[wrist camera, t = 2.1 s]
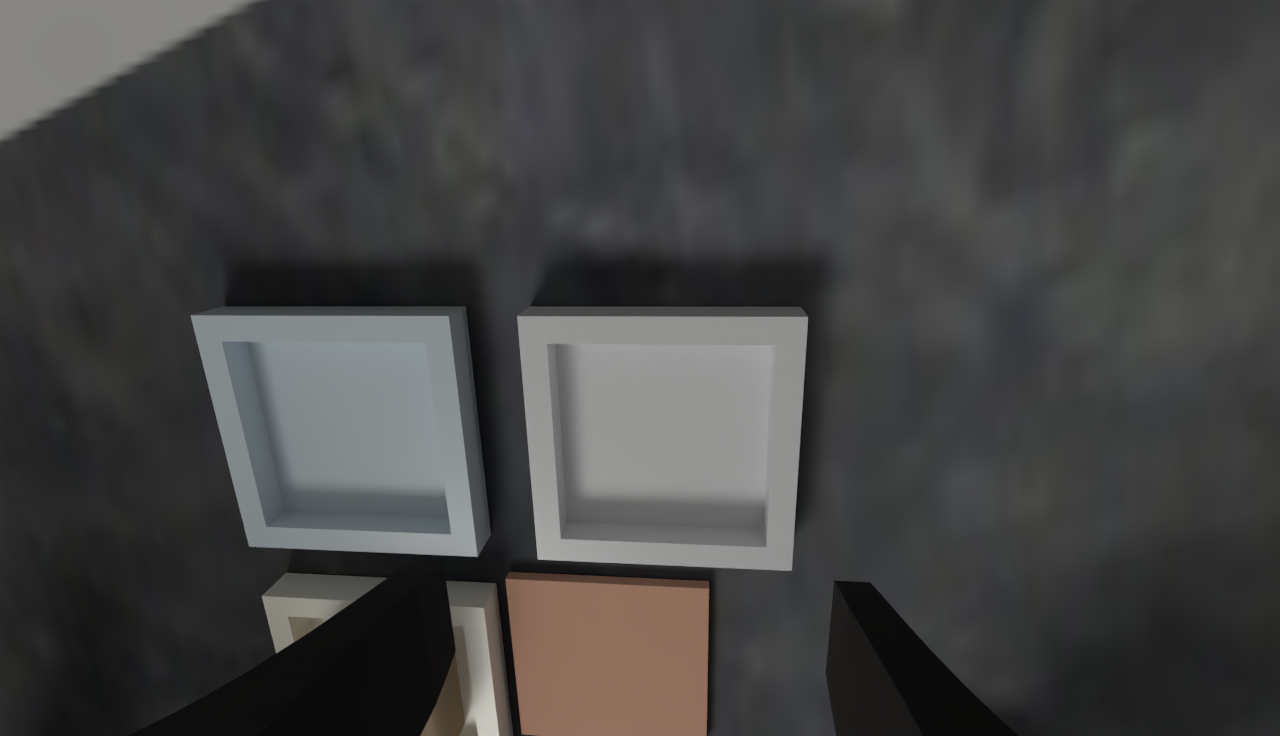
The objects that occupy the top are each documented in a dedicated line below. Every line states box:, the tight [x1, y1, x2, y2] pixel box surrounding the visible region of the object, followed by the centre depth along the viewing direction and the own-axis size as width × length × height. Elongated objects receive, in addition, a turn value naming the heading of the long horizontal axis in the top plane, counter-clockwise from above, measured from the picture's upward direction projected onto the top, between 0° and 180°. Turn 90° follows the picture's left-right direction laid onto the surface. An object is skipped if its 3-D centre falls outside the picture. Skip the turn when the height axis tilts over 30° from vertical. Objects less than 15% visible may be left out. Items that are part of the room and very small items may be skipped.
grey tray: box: [517, 307, 808, 571], centre depth 18 cm, size 8×8×1 cm
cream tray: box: [262, 573, 513, 736], centre depth 23 cm, size 8×8×1 cm
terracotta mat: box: [505, 572, 709, 736], centre depth 22 cm, size 7×7×1 cm
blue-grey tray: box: [191, 306, 491, 557], centre depth 19 cm, size 8×8×1 cm
